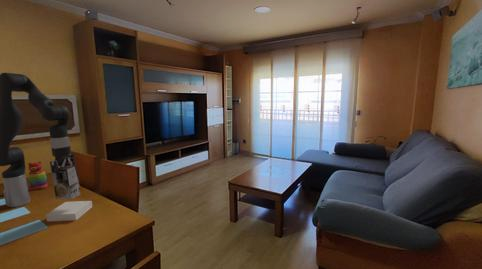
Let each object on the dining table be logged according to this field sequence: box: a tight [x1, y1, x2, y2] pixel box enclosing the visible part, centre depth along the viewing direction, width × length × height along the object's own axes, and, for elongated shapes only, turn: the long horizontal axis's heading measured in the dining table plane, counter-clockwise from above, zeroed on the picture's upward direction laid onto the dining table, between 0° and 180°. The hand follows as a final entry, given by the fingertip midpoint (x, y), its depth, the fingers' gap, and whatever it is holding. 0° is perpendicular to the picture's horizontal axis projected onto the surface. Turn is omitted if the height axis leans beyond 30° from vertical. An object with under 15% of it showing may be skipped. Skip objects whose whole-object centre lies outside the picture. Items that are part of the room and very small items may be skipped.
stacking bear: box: [27, 161, 49, 192], centre depth 153 cm, size 11×10×18 cm
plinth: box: [45, 200, 93, 222], centre depth 120 cm, size 14×14×4 cm
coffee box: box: [50, 165, 81, 200], centre depth 117 cm, size 9×6×16 cm
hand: (65, 177), depth 116 cm, fingers closed on coffee box, 7 cm apart
